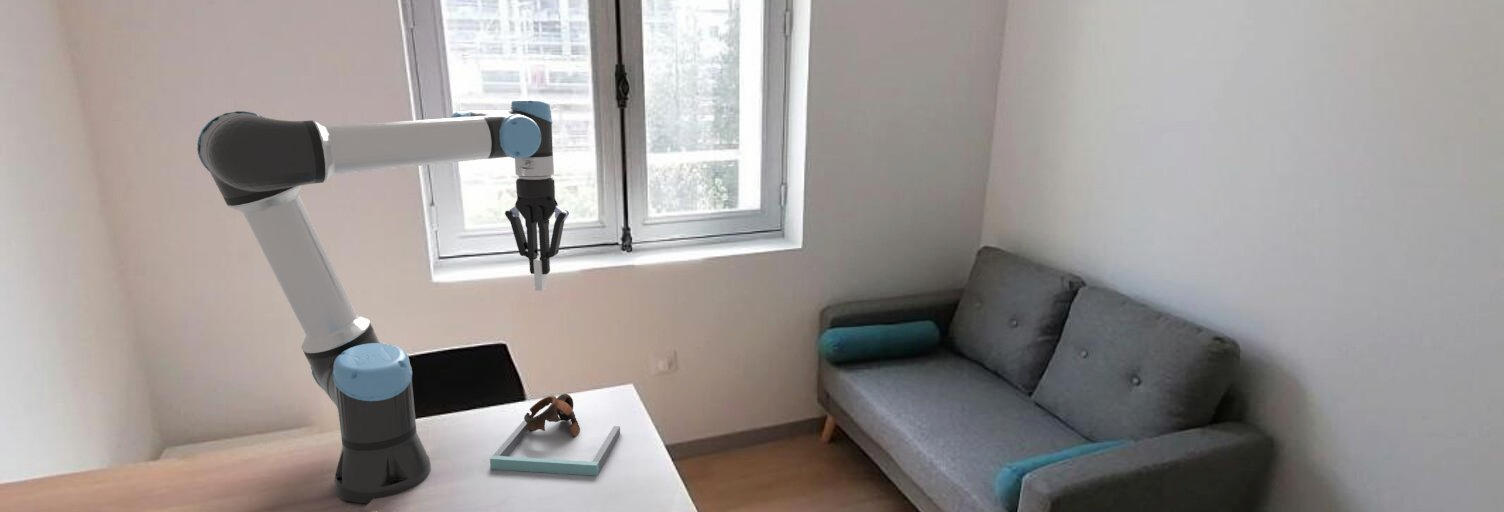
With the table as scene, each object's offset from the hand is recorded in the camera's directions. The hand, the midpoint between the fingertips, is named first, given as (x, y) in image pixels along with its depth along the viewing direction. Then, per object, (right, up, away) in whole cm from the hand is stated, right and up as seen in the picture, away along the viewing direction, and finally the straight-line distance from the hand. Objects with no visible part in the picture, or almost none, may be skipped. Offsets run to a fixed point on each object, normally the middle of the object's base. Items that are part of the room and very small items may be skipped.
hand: (540, 288), depth 164 cm
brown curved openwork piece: (+7, -29, -9) cm, 31 cm away
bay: (+8, -29, -18) cm, 35 cm away
